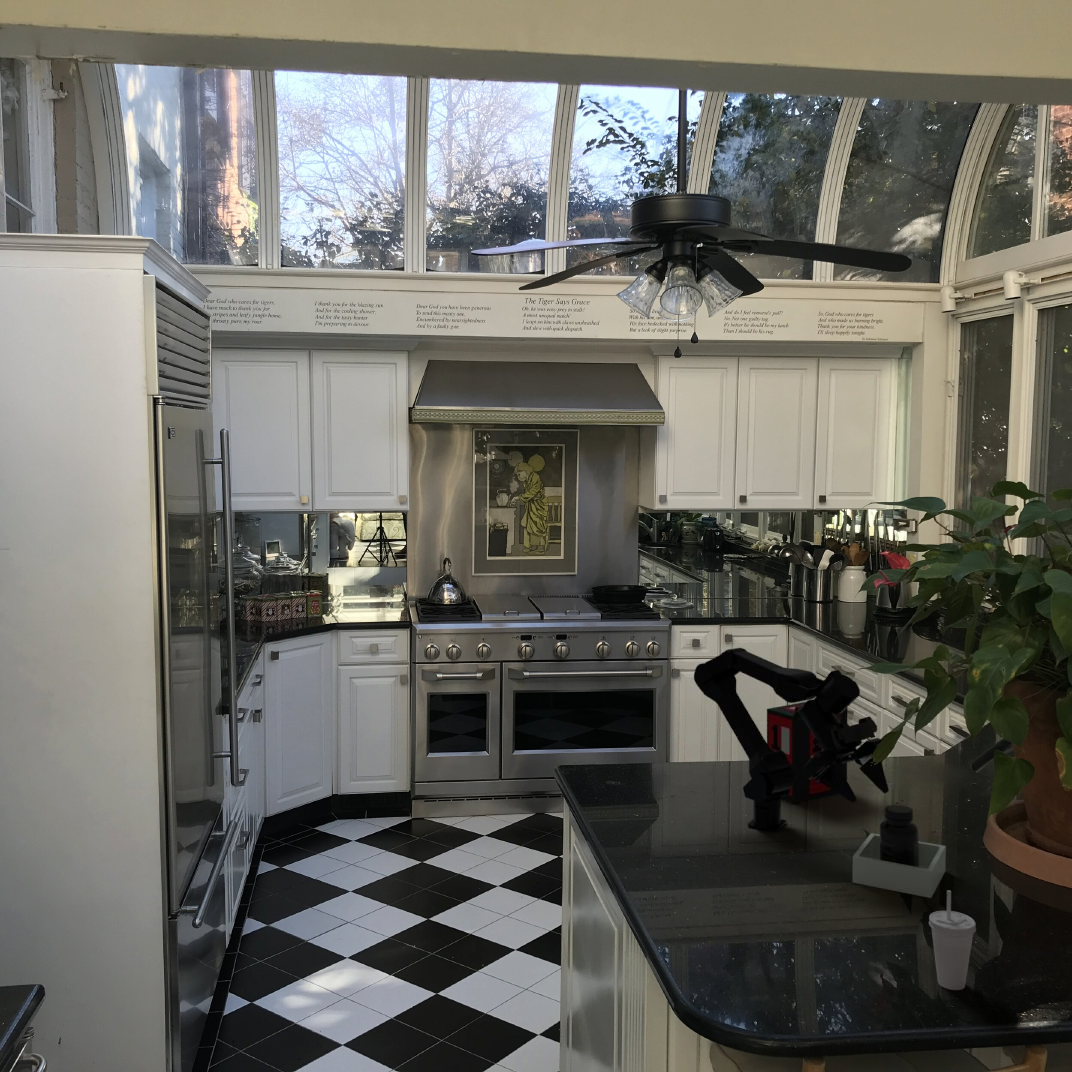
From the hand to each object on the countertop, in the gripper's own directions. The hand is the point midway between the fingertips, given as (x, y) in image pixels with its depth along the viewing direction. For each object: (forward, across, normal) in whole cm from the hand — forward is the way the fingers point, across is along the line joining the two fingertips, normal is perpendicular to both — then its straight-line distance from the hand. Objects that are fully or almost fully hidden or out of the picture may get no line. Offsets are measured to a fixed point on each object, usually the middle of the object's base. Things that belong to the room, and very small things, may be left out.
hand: (871, 796), depth 192 cm
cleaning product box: (-16, +23, +35) cm, 45 cm away
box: (+14, 0, +5) cm, 15 cm away
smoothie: (+34, -26, -16) cm, 46 cm away
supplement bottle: (+14, 0, +4) cm, 14 cm away
